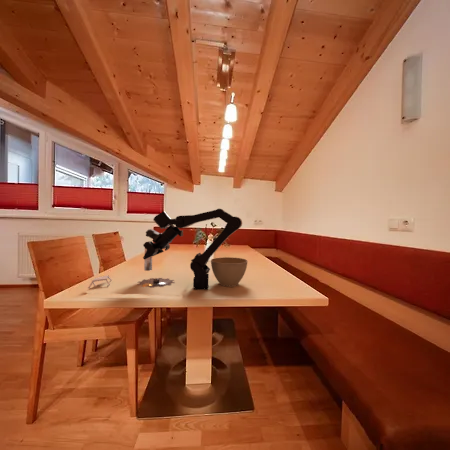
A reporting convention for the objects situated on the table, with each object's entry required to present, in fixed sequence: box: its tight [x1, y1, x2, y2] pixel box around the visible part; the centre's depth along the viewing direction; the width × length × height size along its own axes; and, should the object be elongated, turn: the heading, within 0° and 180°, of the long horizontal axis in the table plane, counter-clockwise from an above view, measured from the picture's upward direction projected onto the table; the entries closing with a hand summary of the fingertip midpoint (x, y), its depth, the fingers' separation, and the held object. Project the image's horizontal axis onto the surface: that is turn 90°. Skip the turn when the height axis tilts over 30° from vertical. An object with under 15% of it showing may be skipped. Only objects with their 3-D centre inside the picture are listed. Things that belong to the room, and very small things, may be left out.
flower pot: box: [210, 256, 248, 287], centre depth 119 cm, size 18×18×12 cm
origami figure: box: [87, 274, 113, 290], centre depth 107 cm, size 12×8×5 cm
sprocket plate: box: [137, 277, 176, 289], centre depth 114 cm, size 17×17×3 cm
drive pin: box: [143, 247, 153, 272], centre depth 115 cm, size 4×4×11 cm
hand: (145, 258), depth 116 cm, fingers closed on drive pin, 4 cm apart
